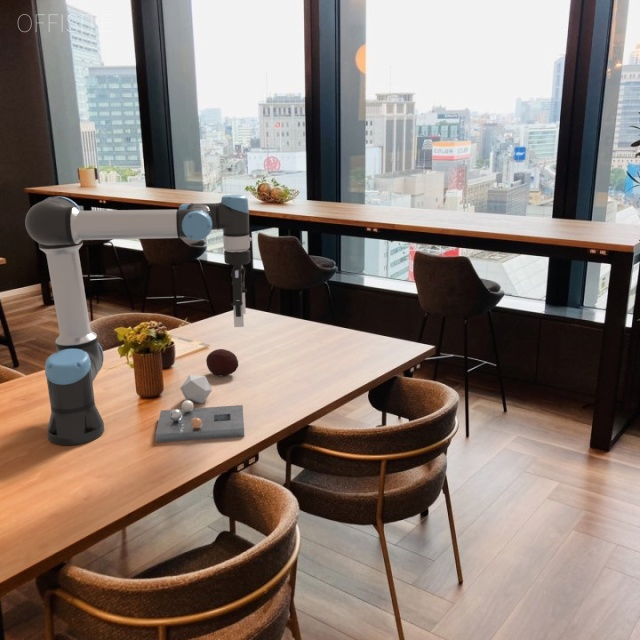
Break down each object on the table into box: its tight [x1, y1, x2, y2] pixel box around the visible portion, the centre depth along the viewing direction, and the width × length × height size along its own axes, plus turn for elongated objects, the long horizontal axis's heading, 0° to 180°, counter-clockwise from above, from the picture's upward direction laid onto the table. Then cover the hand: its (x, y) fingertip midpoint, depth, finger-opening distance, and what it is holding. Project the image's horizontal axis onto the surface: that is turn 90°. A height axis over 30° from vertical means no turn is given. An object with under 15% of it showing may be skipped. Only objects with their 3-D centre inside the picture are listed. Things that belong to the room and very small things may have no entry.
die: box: [179, 374, 213, 404], centre depth 216 cm, size 8×9×10 cm
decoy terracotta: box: [191, 418, 202, 429], centre depth 192 cm, size 3×3×3 cm
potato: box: [205, 348, 239, 377], centre depth 237 cm, size 9×12×9 cm
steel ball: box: [170, 408, 182, 421], centre depth 197 cm, size 3×3×3 cm
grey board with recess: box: [155, 404, 245, 443], centre depth 198 cm, size 24×16×2 cm, turn 98°
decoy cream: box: [181, 399, 194, 412], centre depth 203 cm, size 3×3×3 cm
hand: (240, 320), depth 206 cm, fingers open, 13 cm apart
